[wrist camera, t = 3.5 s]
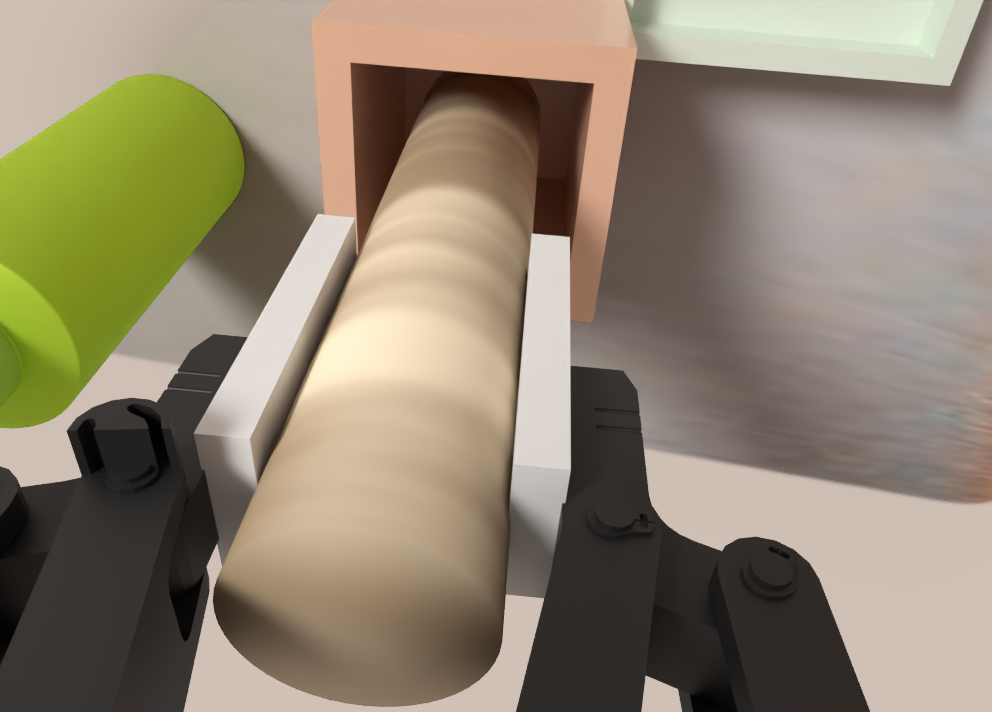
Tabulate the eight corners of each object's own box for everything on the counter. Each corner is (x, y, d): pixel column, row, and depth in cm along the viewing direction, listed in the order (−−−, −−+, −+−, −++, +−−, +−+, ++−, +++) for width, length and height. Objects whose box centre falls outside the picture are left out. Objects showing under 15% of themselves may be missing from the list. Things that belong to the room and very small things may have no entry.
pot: (381, -44, 26) (311, 20, 19) (617, -25, 26) (637, 48, 19) (385, 178, 31) (329, 298, 24) (586, 196, 31) (593, 323, 23)
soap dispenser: (190, 263, 34) (-155, 703, 18) (61, 127, 31) (-506, 509, 14) (293, 195, 32) (8, 626, 15) (165, 41, 29) (-363, 378, 12)
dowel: (424, 53, 23) (190, 512, 9) (547, 64, 23) (513, 544, 9) (423, 169, 26) (233, 692, 11) (535, 179, 25) (493, 718, 11)
